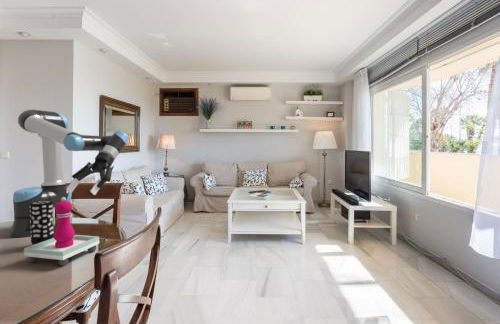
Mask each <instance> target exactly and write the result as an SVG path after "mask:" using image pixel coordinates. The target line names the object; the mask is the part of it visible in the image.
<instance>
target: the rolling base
mask: <svg viewBox="0 0 500 324" xmlns="http://www.w3.org/2000/svg"><path fill="white" fill-rule="evenodd" d="M72 239H73V241H74V244H73V245H72V246H69V247H65V248H56V247H55V242H56V240H55V239H54V238H52V239H49V240H46V241H43V242H40V243H38V244H35V245H32V246H31V245H29V246H27V247H24V248H23V256H24V257H28V258H27V261H28V262H29V263H37V262H38V261H39V259H49V260H56V261H58V262H57V264H58V265H59V266H61V267H66V265H68V264H69V259H70V258H71V257H73V256H75V255H78V254H79V253H82V252H84V251H86V250H87V251H88V252H89V253H95V251H96V250H97V245H99V244H100V236H97V235H95V236H94V235H84V234H83V235H82V234H75V235H74V237H73V238H72Z"/></svg>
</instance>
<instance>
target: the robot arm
mask: <svg viewBox="0 0 500 324" xmlns="http://www.w3.org/2000/svg"><path fill="white" fill-rule="evenodd" d="M17 123H18V125H19V127H20V128H21V129H22V130H24V131H26V132H28V133H30V134H38V137H40V139H41V145H42V163H43V167H42V168H43V182H42V184H40V186H30V187H24V188H21V189H17V190H16V191H14V193H13V195H12V196H13V197H12V202H13V203H12V204H13V223H12V226H11V229H10V230H9V231H10V232H9V233H10V234H9V235H10V237H11V236H12V238H25V237H26V238H27V237H31V227H30V203H32V202H37V201H53V209H55V205H56V204H57V203H58V202H60V201H61V198H62V197H65V198H66V201H69V202H70V201H71V199H72V195H73V194H72V193H73V192H74V190H75V189H76V188H77V187H78V185H79V184H80V183H81V180H83V179H84V178H86V177H88V176H90V175H91V174H92V175H93V174H95V173H98V174H99V178H98V179H97V180H96V182H95V183H94V184H93V186H92V188H91V189H90V190H89V192H90V193H91V194H92V195H93V196H96V195H97V194H98V192H99V191H100V189H101V188H102V187H103V186H104V184H105V183H107V182H108V183H109V182H111V181H112V179H111V178H112V172H113V169H114V168H115V167H114V164H113V163H114V161H116V159H117V158H118V156H119V155H120V153H121V152H122V151H123V149H124V148H125V146H126V145H127V144H128V142H129V136H128V134H127V133H125V132H124V131H122V130H116V131H115V132H114V133H113V134H112V135H88V134H87V135H86V134H80V133H78V132H75V131H73V130H71V129H69V121H68V119H67V117H66V116H65V115H64V114H63V113H61V112H56V111H51V110H50V111H48V110H40V109H39V110H38V109H27V110H25V111H22V112H21V113H20V114H19V115H18V118H17ZM62 145H63V146H64V147H65V149H66V150H67V151H71V152H72V151H73V152H92V151H95V152H98V153H97V155H96V156H95V158H94V162H93V163H91V162H90V161H89V162H87V163H86V164H85V165H84V166H83V167H82V168H80V169H78V171H76V172H75V173H74V174H72V175H71V178H72V180H71V182H70V183H69V185H67V182H65V181H64V179H63V178H64V177H63V162H62V161H63V159H62V156H63V155H62Z"/></svg>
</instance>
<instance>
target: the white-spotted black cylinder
mask: <svg viewBox="0 0 500 324" xmlns="http://www.w3.org/2000/svg"><path fill="white" fill-rule="evenodd" d="M30 227H31V236H30V246H32V245H35V244H38V243H40V242H43V241H46V240H49V239H52V238H54V232H55V230H54V208H53V201H37V202H32V203H30Z"/></svg>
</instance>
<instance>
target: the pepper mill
mask: <svg viewBox="0 0 500 324" xmlns="http://www.w3.org/2000/svg"><path fill="white" fill-rule="evenodd" d="M72 209H73V204H72V203H71V202H70V201H66V198H65V197H62V198H61V201H60V202H58V203H57V204H56V205H55V208H54V212H56V218H57V225H56V228H55V230H54V239H55V240H56V242H55V247H56V248H65V247H69V246H72V245H73V244H74V241H73V239H72V238H73V237H74V235H76V232H75V230H74V227H73V225H72V224H71V223H72V222H71V217H72Z"/></svg>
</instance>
